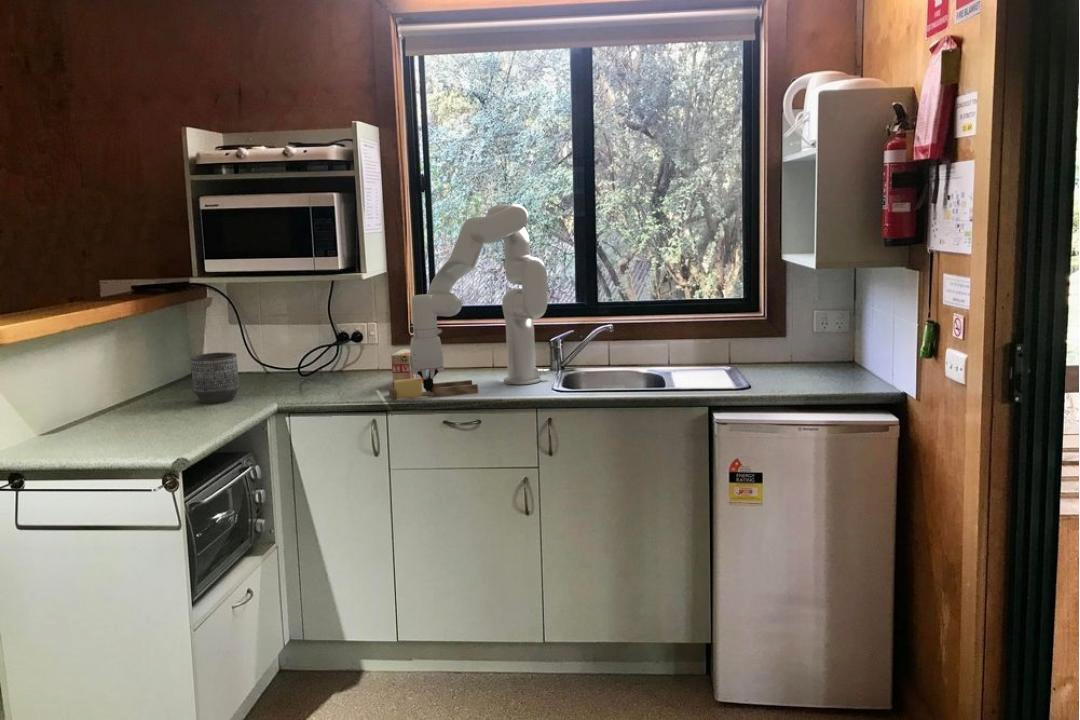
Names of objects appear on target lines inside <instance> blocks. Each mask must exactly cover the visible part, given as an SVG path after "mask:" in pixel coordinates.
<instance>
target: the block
mask: <svg viewBox="0 0 1080 720" xmlns="http://www.w3.org/2000/svg"><path fill="white" fill-rule="evenodd" d="M422 384H423V383H421V380H420V379H419V378H415V379H403V380H394V388H393V389H394V391H395V392H396V398H397V399H398V398H409V397H420V396H422V391H423V385H422Z"/></svg>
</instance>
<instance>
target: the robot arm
mask: <svg viewBox="0 0 1080 720" xmlns="http://www.w3.org/2000/svg"><path fill="white" fill-rule="evenodd" d="M528 213H529V212H528V211H527V209H526V208H525V207H524V206H523V205H521V204H517V203H516V204H514V203H513V204H512V203H511V204H506V203H505V204H502V203H501V204H496V205H493V206H491V207H490V208H489V209H488V211H487V215H486V216H473V217H470V218H468V219H466V220H465V221H464V223H463V225H462V227H461V229H460V231H459V234H458V236H457V239H456V241H455V244H454V246H453V249H452V251H451V254H450V256H449V258H448V259H447V261H445V263H444V264H443V265H442V266H441V267H440V269H439V270H438V271H437V273H436V274H435V275H434V277H433V279H432V280H431V283H430V286H429V288H428V290H427V292H426V293H425V294H416V295H413V296H412V298H411V314H412V328H413V329H412V330H413V331H412V332H413V334H412V335H413V337H412V338H411V339H410V345H409V346H410V347H409V349H410V365H411V371H410V372H411V373H412V374H418V375H420V376H421V377H422V378H423V383H422V384H423V385H422V389H424V390H425V392H426V391H427V392H428V391H432V388H433V383H434V379H435V377H436V375H438V374H439V373H442V372H444V371H445V367H444V356H443V347H442V342H441V338H440V336H439V334H442V333H443V330H442V328H438V325H437V324H438V319H437V317H453V316H456V315H457V314H459V312H461V309H462V308H463V307H462V306H463V303H462V299H461V298H460V297H459V296H458V295H457V294H455V293H452V292H451V290H452V288H454V285H455V284H456V283H457V282H458V281H459V280H460V279H461V278H463V277H464V276H466V275H468V274H469V273H470V272H472V271H473V270H474V269H475V266H476V264H477V261H478V259H479V257H480V255H481V252H482V249H483V247H484V244H493V243H495V242H499V241H503V244H504V265H505V266H504V267H505V268H504V269H505V270H504V271H505V278H506V280H507V281H508V282H509V283H511V284H513V285H519V286H521V288H513V289H510V290H508V291H507V292H506V293H505V294H504V296H503V298H502V301H501V302H502V303H501V307H502V312H503V317H504V323H505V339H506V361H507V376H506V377H504V378H503V383H505V384H509V385H531V384H536V383H540V382H541V380H542V378H541V376H542V375H544V376H545V375H547V376H548V375H550V369H549V368H539V367H537V366H536V345H535V344H536V342H535V326H534V323H533V320H537V319H540V318H541V317H543V316H544V315H545V313H546V311H547V308H548V272H547V268H546V265H545V264H544V262H543V261H542V260H541V259H540V258H537V257H535V256H531V245H530V237H529V233H528V232H527V230H526V228H525V227H526V226H527V224H528V222H529V214H528ZM428 369H429V376H428V378H427V376H426V371H425V370H428ZM419 370H420V371H419Z"/></svg>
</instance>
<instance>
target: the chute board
mask: <svg viewBox="0 0 1080 720" xmlns="http://www.w3.org/2000/svg"><path fill="white" fill-rule="evenodd" d="M478 385H479V384H475V383H474V384H473V380H472V379H468V380H467V379H466V380H457V381H445V382H433V388H432V391H428V392H427V391H426V390H425V391H424V390H422V396H420V397H409V398H398V399H397V398H396V392H395V391H394V388H393V386H391V387H390V386H389V387H388V396H389V397H390V398H391V399H392V401H403V400H412V399H423V398H425V399H427V398H434V397H435V398H436V397H443V396H457V395H468V394H469V395H470V394H477V393H479V387H478Z"/></svg>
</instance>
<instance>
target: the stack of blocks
mask: <svg viewBox="0 0 1080 720" xmlns="http://www.w3.org/2000/svg"><path fill="white" fill-rule="evenodd" d="M391 371H392V388H393V389H394V380H403V379H415V378H419V379H420V380H421V383H422V384H423V378H422V377H421V376H420V375H418V374H412V373H411V372H410V371H411V365H410V348H403V349H400V350H398V351H396V352H395V353H393V354H391ZM419 371H420V370H419ZM425 371H426V376H427V378H428V376H429V369H428V370H425Z"/></svg>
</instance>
